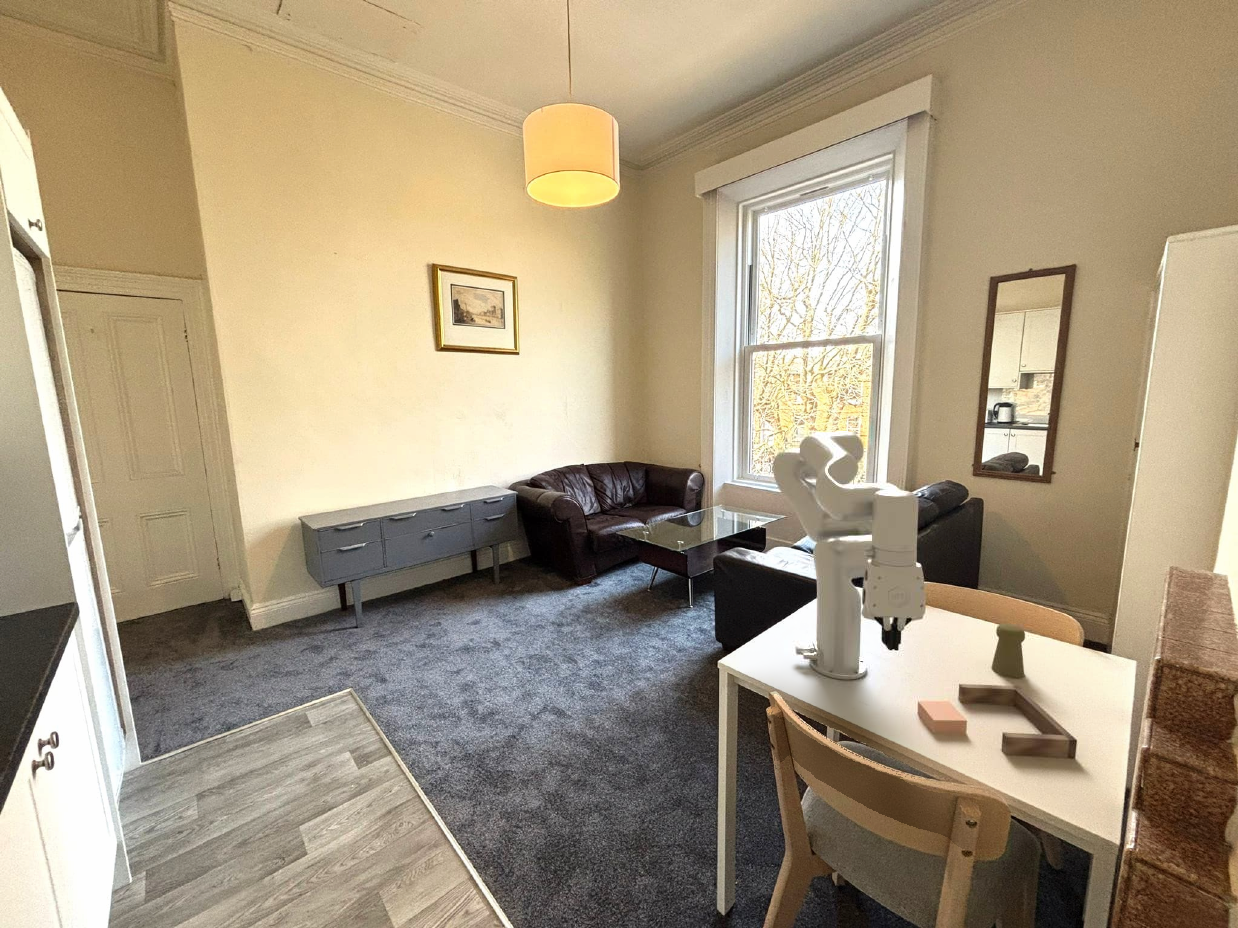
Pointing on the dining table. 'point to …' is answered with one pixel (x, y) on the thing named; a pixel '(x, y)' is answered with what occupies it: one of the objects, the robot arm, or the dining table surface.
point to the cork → (1009, 651)
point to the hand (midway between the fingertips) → (890, 646)
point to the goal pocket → (1042, 745)
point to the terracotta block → (942, 717)
